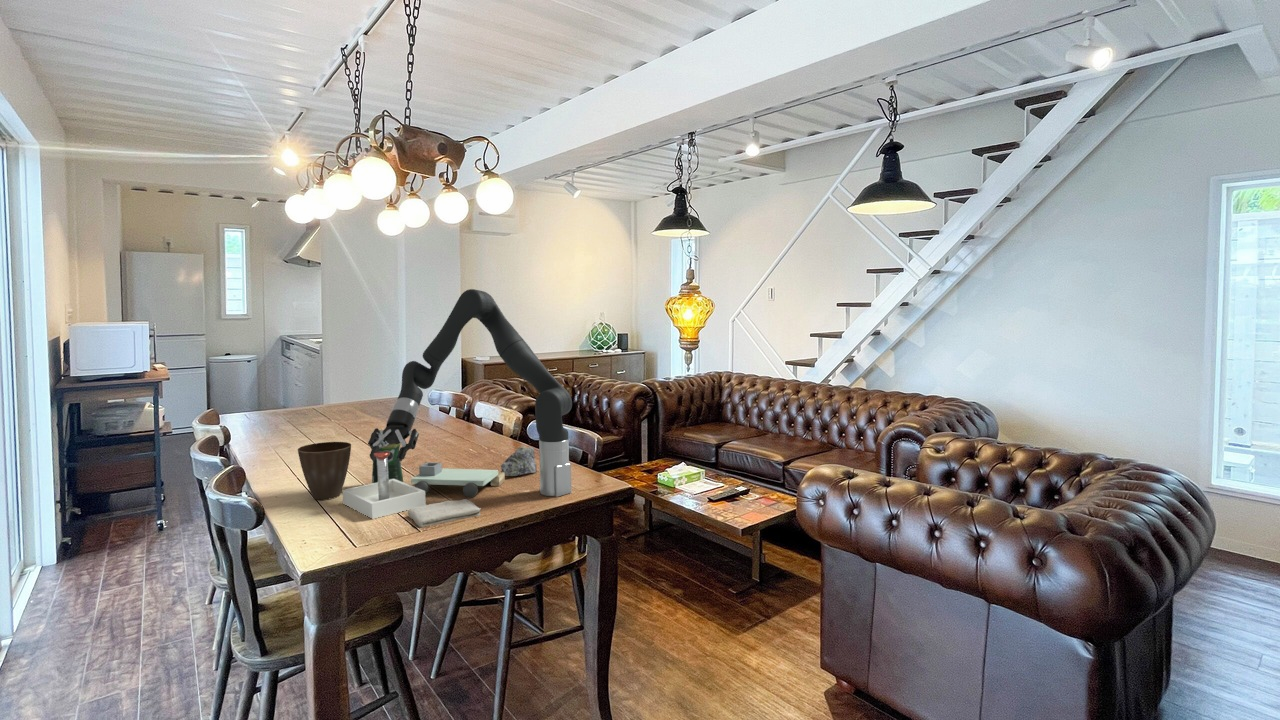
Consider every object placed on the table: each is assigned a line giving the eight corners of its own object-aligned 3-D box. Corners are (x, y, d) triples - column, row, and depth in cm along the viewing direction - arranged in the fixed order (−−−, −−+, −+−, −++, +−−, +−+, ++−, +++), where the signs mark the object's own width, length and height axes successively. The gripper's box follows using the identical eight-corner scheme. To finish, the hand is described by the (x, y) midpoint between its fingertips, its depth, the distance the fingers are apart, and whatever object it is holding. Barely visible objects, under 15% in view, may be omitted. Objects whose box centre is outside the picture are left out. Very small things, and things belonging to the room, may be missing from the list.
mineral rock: (501, 480, 210) (500, 451, 209) (499, 472, 220) (498, 444, 219) (539, 476, 214) (538, 448, 213) (535, 469, 224) (534, 442, 223)
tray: (425, 505, 183) (425, 490, 183) (372, 519, 171) (371, 503, 171) (394, 492, 197) (393, 478, 196) (343, 504, 185) (342, 489, 184)
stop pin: (394, 501, 184) (392, 452, 183) (380, 505, 181) (377, 455, 180) (387, 498, 187) (385, 450, 186) (373, 501, 184) (371, 452, 183)
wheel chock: (504, 481, 208) (504, 472, 207) (499, 486, 203) (499, 476, 202) (496, 481, 208) (495, 472, 208) (490, 485, 203) (490, 476, 203)
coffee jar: (403, 481, 209) (401, 427, 208) (403, 487, 202) (400, 432, 200) (372, 484, 206) (370, 429, 205) (371, 490, 199) (368, 434, 197)
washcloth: (483, 516, 175) (483, 506, 174) (419, 530, 164) (418, 519, 164) (468, 505, 184) (468, 495, 184) (407, 518, 174) (406, 507, 174)
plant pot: (335, 487, 203) (333, 439, 202) (363, 493, 195) (361, 444, 194) (290, 499, 190) (287, 448, 189) (318, 507, 183) (315, 454, 181)
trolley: (500, 483, 206) (499, 460, 205) (481, 498, 190) (481, 472, 189) (432, 481, 209) (431, 458, 208) (409, 495, 193) (408, 470, 192)
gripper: (377, 408, 193) (358, 452, 182) (420, 408, 191) (403, 453, 181) (387, 421, 198) (369, 465, 188) (428, 422, 197) (412, 466, 186)
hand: (385, 459), depth 184 cm, fingers open, 8 cm apart
